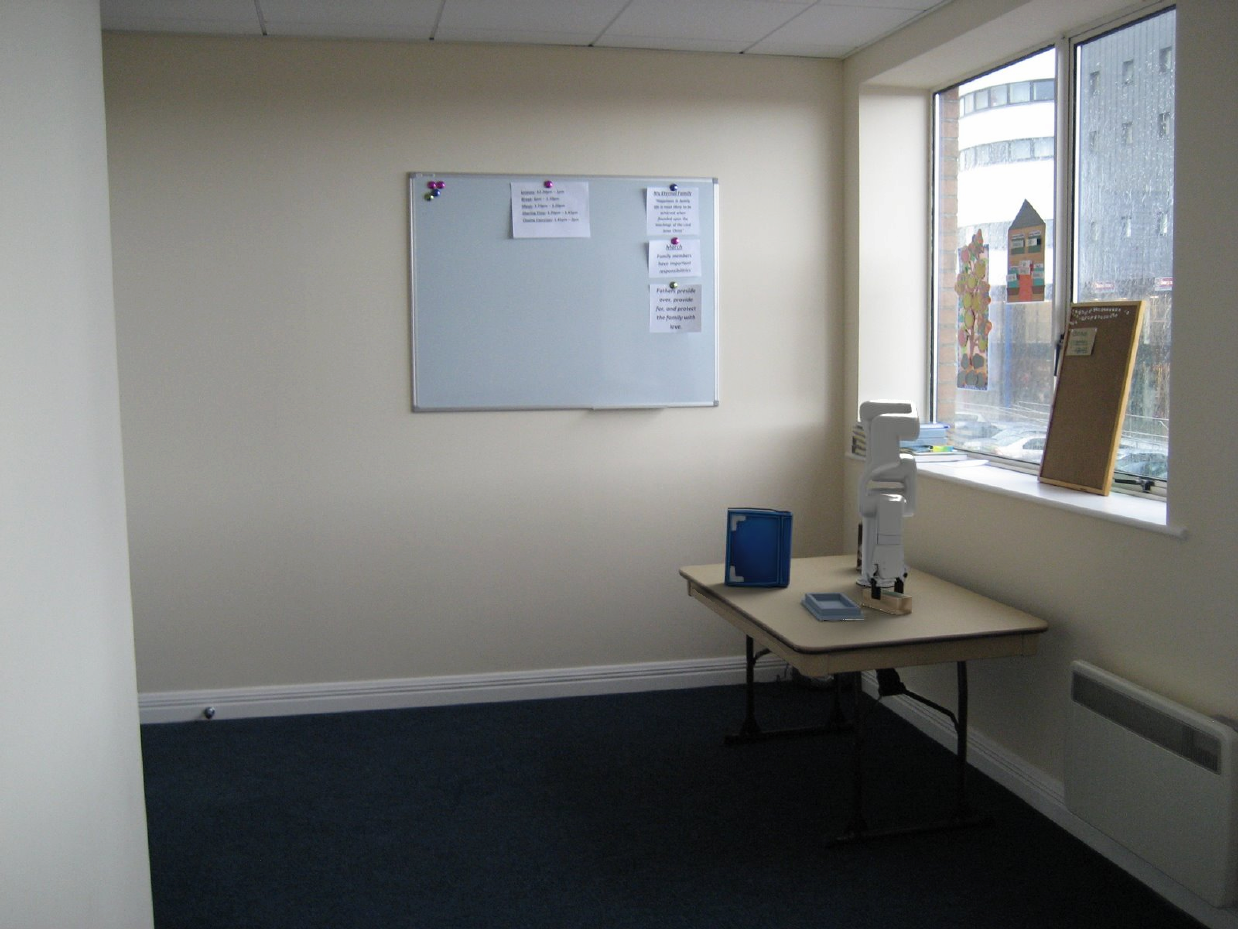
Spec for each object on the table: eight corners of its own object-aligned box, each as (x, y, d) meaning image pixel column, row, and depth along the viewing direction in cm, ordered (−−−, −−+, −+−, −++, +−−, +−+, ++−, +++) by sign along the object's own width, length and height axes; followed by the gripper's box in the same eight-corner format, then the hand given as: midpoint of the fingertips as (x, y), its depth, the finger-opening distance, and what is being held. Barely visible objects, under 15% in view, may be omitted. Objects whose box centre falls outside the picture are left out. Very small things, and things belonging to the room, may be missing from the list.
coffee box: (856, 570, 378) (857, 523, 376) (859, 566, 384) (860, 521, 382) (883, 572, 374) (884, 525, 373) (885, 568, 380) (887, 522, 379)
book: (791, 583, 357) (792, 507, 354) (792, 588, 350) (793, 511, 347) (724, 582, 359) (725, 506, 356) (724, 587, 352) (725, 510, 349)
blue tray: (843, 601, 332) (843, 591, 332) (864, 620, 310) (865, 609, 310) (801, 602, 331) (801, 592, 331) (819, 621, 309) (819, 610, 309)
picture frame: (877, 603, 331) (877, 586, 331) (911, 613, 319) (912, 596, 319) (862, 605, 328) (863, 589, 328) (896, 616, 316) (897, 598, 316)
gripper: (899, 535, 329) (897, 591, 331) (858, 540, 319) (857, 598, 321) (918, 539, 323) (917, 596, 325) (878, 544, 313) (876, 603, 315)
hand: (887, 597), depth 323 cm, fingers open, 9 cm apart
